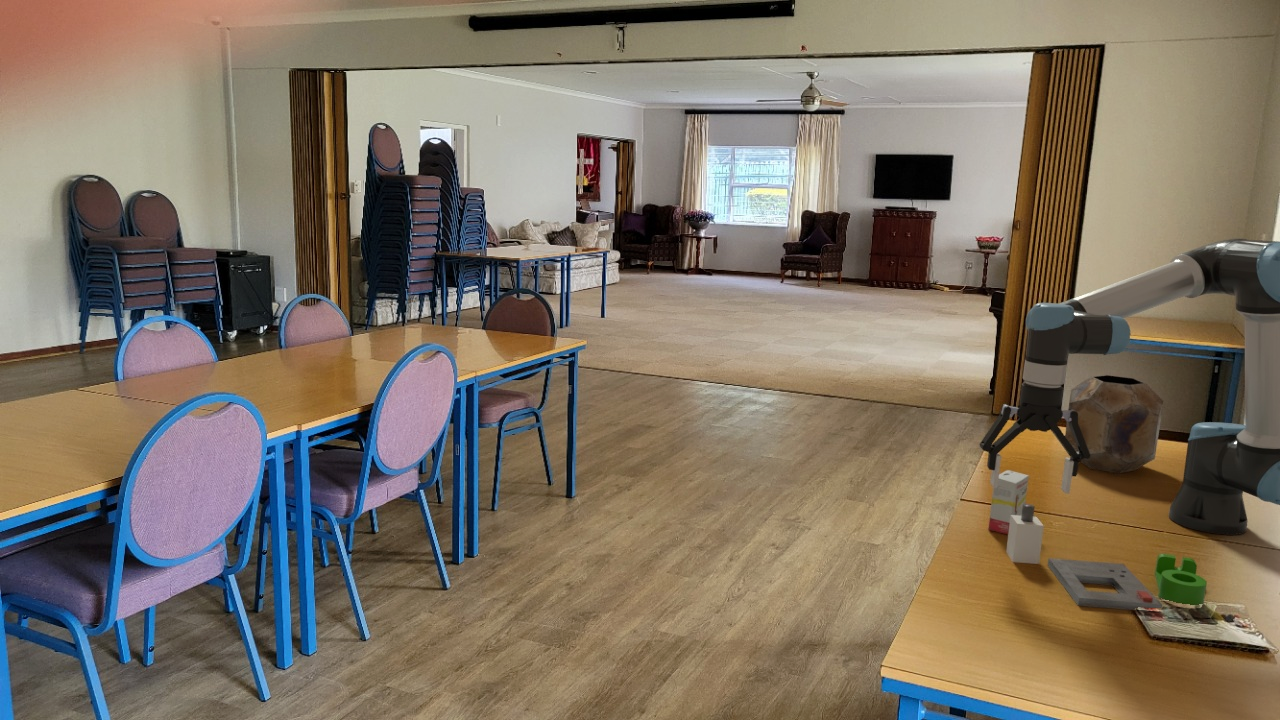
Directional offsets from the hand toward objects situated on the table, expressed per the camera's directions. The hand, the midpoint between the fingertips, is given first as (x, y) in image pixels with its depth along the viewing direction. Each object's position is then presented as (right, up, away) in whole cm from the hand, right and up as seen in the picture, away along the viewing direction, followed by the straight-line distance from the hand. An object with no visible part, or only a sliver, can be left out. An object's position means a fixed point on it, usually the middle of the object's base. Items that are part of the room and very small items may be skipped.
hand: (1029, 488), depth 186 cm
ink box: (+3, -11, +19) cm, 23 cm away
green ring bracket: (+23, -18, -11) cm, 31 cm away
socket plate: (+9, -17, -10) cm, 22 cm away
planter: (+49, -3, +68) cm, 84 cm away
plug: (0, -14, +3) cm, 15 cm away
